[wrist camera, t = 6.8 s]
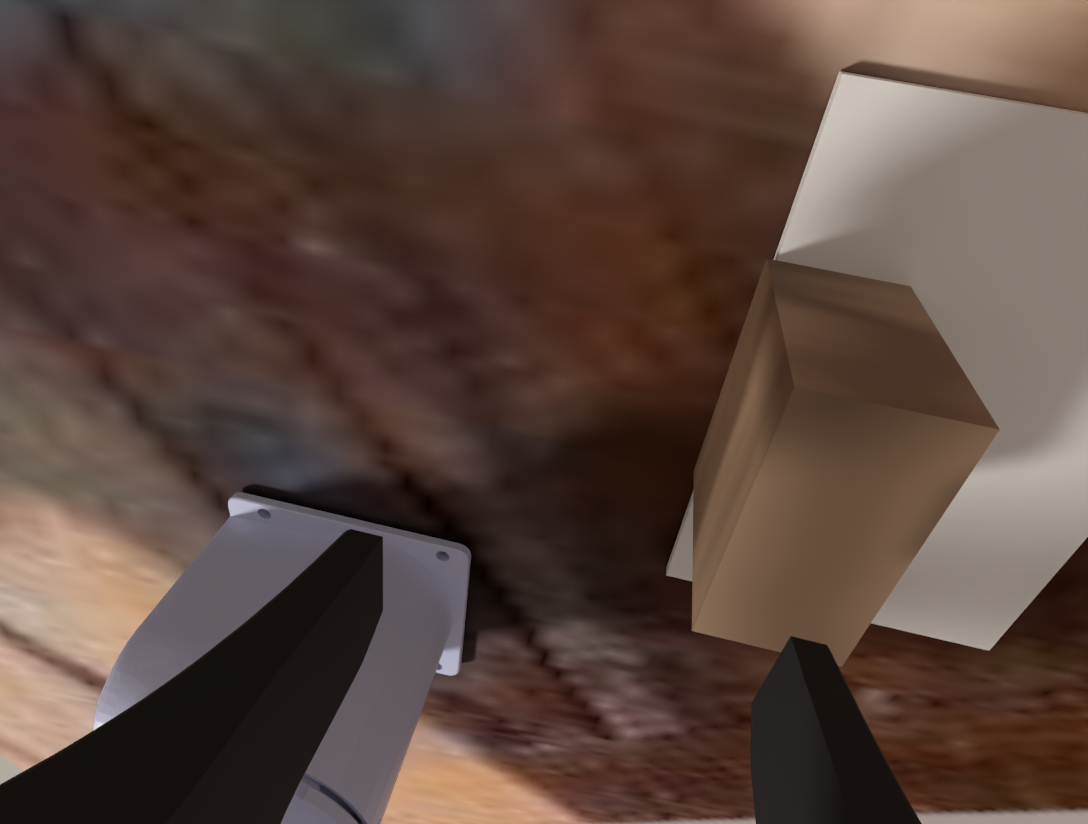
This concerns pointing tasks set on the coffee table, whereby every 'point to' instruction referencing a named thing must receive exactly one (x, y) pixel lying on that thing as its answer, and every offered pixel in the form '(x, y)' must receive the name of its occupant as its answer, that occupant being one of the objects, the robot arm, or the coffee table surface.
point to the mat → (968, 319)
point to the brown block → (826, 459)
